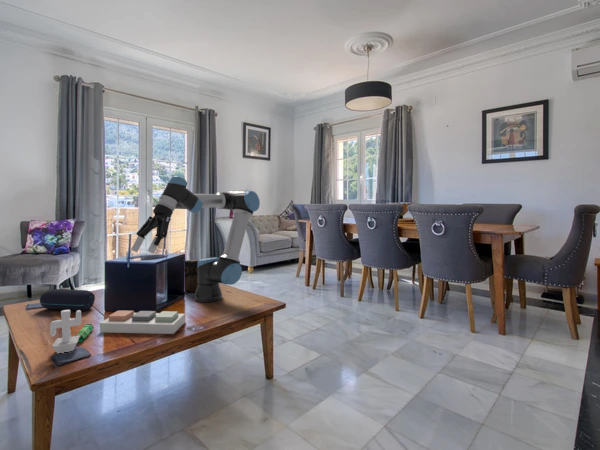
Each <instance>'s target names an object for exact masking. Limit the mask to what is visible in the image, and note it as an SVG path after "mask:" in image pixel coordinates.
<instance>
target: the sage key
mask: <svg viewBox="0 0 600 450" xmlns="http://www.w3.org/2000/svg"><path fill="white" fill-rule="evenodd" d="M159 313H160V314H158V315H157V316H156V317H155V322H173V321H174V320H175V319H176V318H177V317H178V314H179V311H175V310H174V311H168V310H165V311H164V310H162V311H161V312H159Z"/></svg>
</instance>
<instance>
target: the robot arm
mask: <svg viewBox="0 0 600 450" xmlns="http://www.w3.org/2000/svg"><path fill="white" fill-rule="evenodd" d="M187 187H188V181H187V180H186V179H185V178H184V177H181V176H178V175H173V176H171V178H170V179H169V181H168V182H167V184H166V187H164V190H163V192H162V193H161V196H159V199H158V201H157V204H156V205H155V206H154V208H153V210H152V212H153V214H154V216H149V217H148V218H147V220H146V221H145V223H144V224H143V225H142V226H141V227H140V228H139V230H138V231H137V232H136V235H137V238H136V239H135V241H134V242H133V245H132V246H131V248H130V250H131V251H133V252H135V253H138V251H140V248H141V246H142V245H143V242H144V241H145V239H146V236H148V235H149V233H151V231H152V230H153V229H156V234H155V235H154V238H153V239H152V240H151V243H150V244H149V247H148V249H147V252H148V253H151V254H153V255H154V254H155V252H156V251H157V248H158V246H159V245H160V243H161V241H162V240H163V239H166V238H167V236H168V231H169V225H170V222H171V220H172V219H171V217H172V215H173V214H174V211H175V210H176V209H178V210H188V212H190V213H192V214H197V213H199V212H201V210H202V209H203V208H205V209H207V208H208V209H209V208H210V209H211V208H216V209H218V210H228V211H229V210H230V211H232V212H233V217H232V221H231V226H230V227H229V232H228V235H227V239H226V243H225V246H224V250H223V253H222V255H220V256H219V257H215V256H214V257H208V258H207V257H205V258H200V259H198V260H199V261H198V266H197V276H198V286H197V289H196V293H194V301H196V302H198V303H213V302H217V301H220V300H222V298H223V292H222V290H221V287H220V284H223V285H228V286H232V285H235V284H236V283H237V282H239V280H240V279H241V277H242V273H243V268H242V266H241V265H240V263H241V261H240V259H239V257H240V254H241V249H242V246H243V243H244V238H245V234H246V232H247V231H246V230H247V228H248V222H249V220H250V218H252V217H253V215H254V212H257V211H258V210H259V208H260V205H261V202H260V198H259V195H258V193H256V191H253V190H230V191H229V190H228V191H223V192H216V193H193V192H192V191H191V190H189V188H187Z"/></svg>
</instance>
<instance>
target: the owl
mask: <svg viewBox="0 0 600 450" xmlns="http://www.w3.org/2000/svg"><path fill="white" fill-rule="evenodd" d="M199 260H200V259H189V260H188V259H187V260H184V261H185V292H186V293H185V294H195V293H196V289H197V286H198V276H197V266H198V261H199Z"/></svg>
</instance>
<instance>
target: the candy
mask: <svg viewBox="0 0 600 450" xmlns="http://www.w3.org/2000/svg"><path fill="white" fill-rule="evenodd" d="M94 329H95V326H94V325H93V324H92V323H85V325H84V326H83V327H82V328H81V329H80V331H79V332H78V333H77V334H75V335H74V336H79V335H80V337H79V340H78V342H77V344H79V343H80V342H81V343H83V341H84V340H85V339H86V338H87V336H88V335H90V332H93V330H94Z"/></svg>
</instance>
